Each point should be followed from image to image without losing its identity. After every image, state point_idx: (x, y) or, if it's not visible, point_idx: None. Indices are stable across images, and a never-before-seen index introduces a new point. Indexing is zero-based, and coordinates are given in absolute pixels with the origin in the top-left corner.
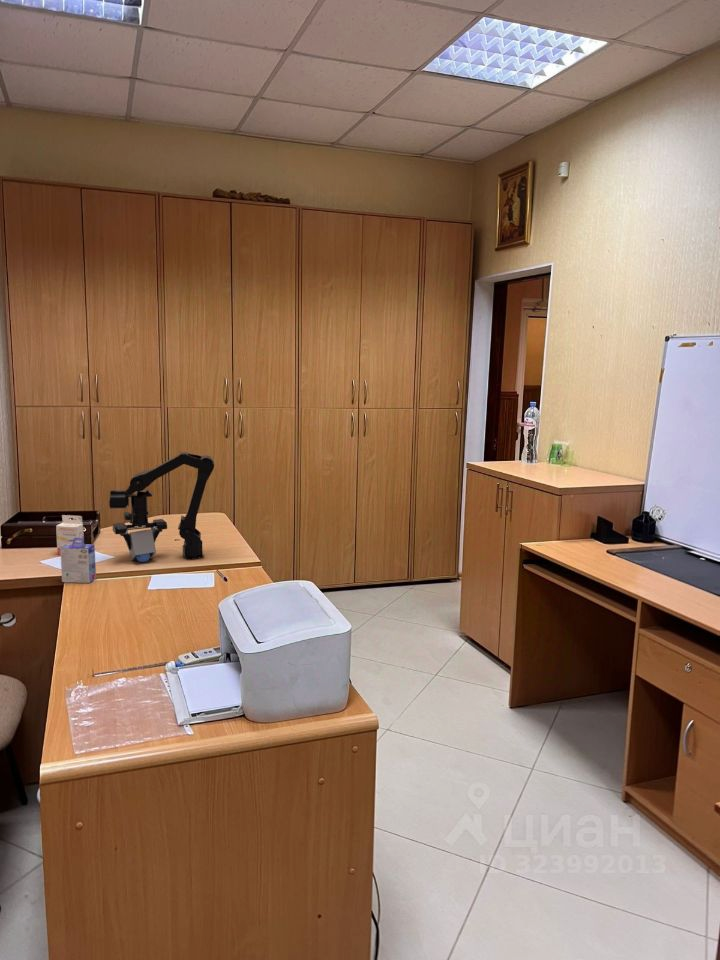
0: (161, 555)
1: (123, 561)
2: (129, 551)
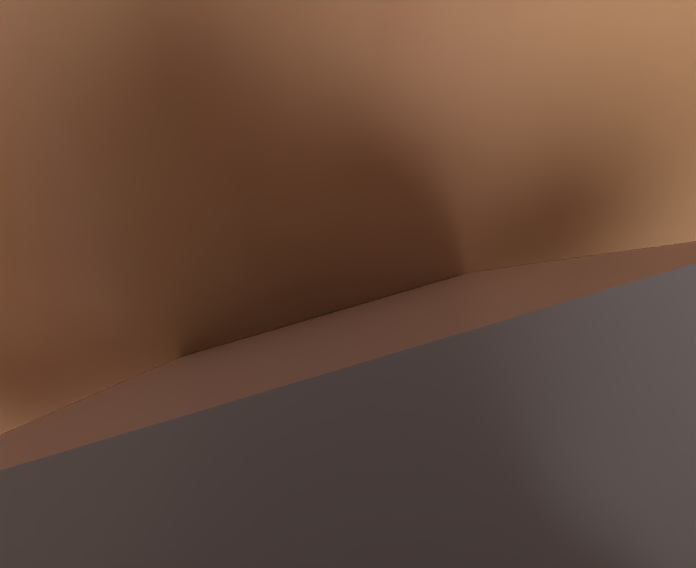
0: (601, 193)
1: (63, 383)
2: (114, 386)
